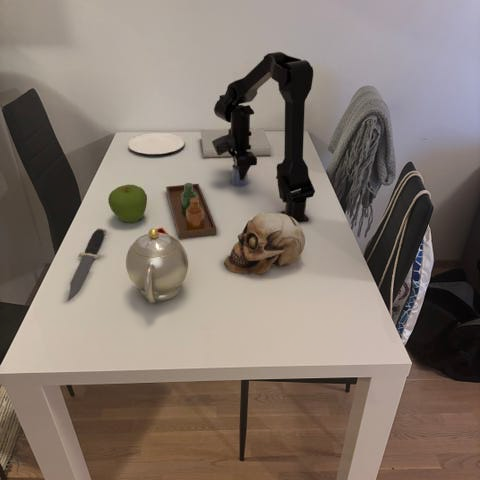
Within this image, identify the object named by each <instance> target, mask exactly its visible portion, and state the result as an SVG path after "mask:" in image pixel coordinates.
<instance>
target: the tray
mask: <svg viewBox="0 0 480 480" xmlns="http://www.w3.org/2000/svg"><path fill="white" fill-rule="evenodd" d="M192 184H193V190H194V191H195V192H196V193H197V194H198V200H199V205H200V207H201V208H203V209H204V227H205V228H204V229H195V230H187V220H186V216H185V215H183V214H182V205H181V193H183V191H184V190H185V188H184V184H180V185H168V186H165V191H166V196H167V200H168V203H169V207H170V210H171V215H172V217H173V221H174V225H175V228H176V232H177V236H178V239H179V240H183V239H192V238H193V239H195V238H199V237H200V238H201V237H210V236H216V235H217V234H218V232H217V231H218V230H217V226H216V223H215V221H214V218H213V216H212V213H211V211H210V209H209V206H208V203H207V201H206V199H205V196H204V193H203V191H202V188H201V186H200V184H199V183H192Z"/></svg>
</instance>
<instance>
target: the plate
mask: <svg viewBox="0 0 480 480" xmlns="http://www.w3.org/2000/svg"><path fill="white" fill-rule="evenodd" d="M185 144H186V142H185V140H184V138H182V137H181V136H179V135H178V134H175V133H169V132H151V133H144V134H140V135H137V136H134V137H133V138H131V139H130V140H129V141H128V143H127V147H128V148H129V150H131V151H133V152H135V153H137V154H140V155H141V154H142V155H147V156H149V155H151V156H157V155H159V156H161V155H165V154H171V153H175V152H177V151H179V150H181V149H182V148H184V146H185Z"/></svg>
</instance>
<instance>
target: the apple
mask: <svg viewBox="0 0 480 480" xmlns="http://www.w3.org/2000/svg"><path fill="white" fill-rule="evenodd" d="M107 200H108V201H107V203H108V205H109V207H110V210H111V212H112V213H113V214H114V216H115V217H116V218H117V219H118V220H120V221H122V222H125V223H126V224H127V223H128V224H132V223H136V222H138V221H139V220H140V219H142V218H143V216H144V215H145V212H146V209H147V205H148V204H147V203H148V195H147V193H146V191H145V190H144V189H143V188H142V187H140V186H138V185H135V184H124V185H121V186H118V187H116V188H115V189H113V190H112V191H111V192H110V193H109V194H108V199H107Z"/></svg>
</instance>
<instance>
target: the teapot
mask: <svg viewBox="0 0 480 480" xmlns="http://www.w3.org/2000/svg"><path fill="white" fill-rule="evenodd" d="M125 269H126V274H127V275H128V277H129V279H130V281H131V282H132V284H133V285H134V286H135V287H136V288H138V289H139V290H140V292H141V294H142V296H143V297H144V298H145V299H146V300H147V302H149V303H152V304H153V303H155V302H157V303H158V302H159V303H160V302H167V301H170V300H172V299H174V298H175V297H176V296H177V295H178V294H179V292H180V289H181V285H182V283H184V280H185V279H186V277H187V274H188V272H189V271H188V270H189V258H188V254H187V250H186V249H185V248H184V246H183V245H182V243H181V242H180V241H179V240H178V239H176V238H175V237H174V236H172V235H170V234H169V233H168V231H166V228H165V229H164V227H161V226H160V227H158V228H151V229H149V231H148V233H146V234H143V235H141V236H140V237H138V238H136V239H135V241H133V243H132V244H131V245H130V246H129V248H128V250H127V253H126V256H125Z"/></svg>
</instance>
